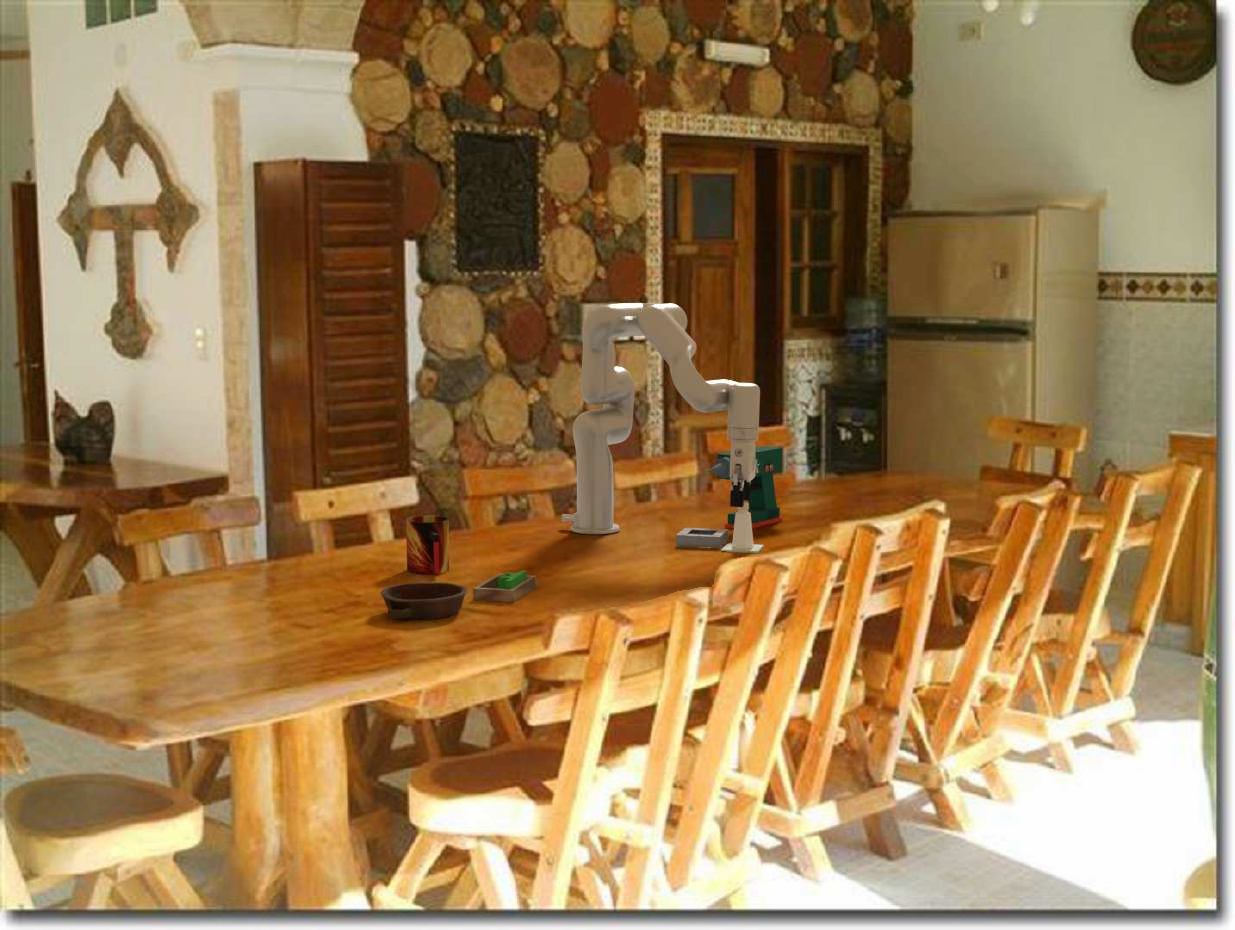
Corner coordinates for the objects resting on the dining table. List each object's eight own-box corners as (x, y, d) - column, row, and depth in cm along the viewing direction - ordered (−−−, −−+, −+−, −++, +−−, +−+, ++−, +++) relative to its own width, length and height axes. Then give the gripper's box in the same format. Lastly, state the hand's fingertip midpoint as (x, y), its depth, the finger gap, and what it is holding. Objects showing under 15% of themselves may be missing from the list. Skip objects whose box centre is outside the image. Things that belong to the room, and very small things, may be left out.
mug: (436, 579, 375) (435, 526, 374) (398, 570, 385) (397, 519, 383) (469, 573, 382) (468, 521, 380) (431, 565, 392) (430, 514, 390)
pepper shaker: (746, 549, 407) (746, 504, 406) (727, 547, 410) (727, 502, 409) (758, 546, 412) (758, 502, 410) (739, 544, 415) (739, 500, 413)
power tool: (718, 537, 427) (718, 459, 425) (695, 534, 432) (695, 457, 429) (784, 521, 453) (785, 447, 450) (762, 518, 457) (762, 445, 454)
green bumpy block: (510, 590, 363) (510, 569, 363) (526, 591, 363) (526, 570, 362) (493, 600, 353) (493, 579, 352) (510, 601, 352) (510, 580, 351)
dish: (356, 619, 336) (355, 595, 335) (422, 599, 354) (422, 576, 354) (426, 629, 327) (426, 604, 326) (490, 608, 346) (490, 584, 345)
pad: (721, 551, 408) (721, 549, 408) (727, 545, 416) (727, 543, 416) (757, 553, 405) (757, 551, 405) (763, 546, 414) (763, 544, 414)
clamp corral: (473, 600, 353) (472, 588, 352) (497, 585, 368) (497, 573, 368) (513, 602, 350) (513, 590, 350) (536, 587, 366) (536, 575, 366)
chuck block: (675, 547, 414) (675, 535, 414) (685, 539, 425) (685, 527, 424) (719, 548, 411) (719, 536, 411) (728, 541, 422) (728, 529, 421)
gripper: (752, 439, 398) (749, 510, 401) (764, 430, 415) (761, 498, 417) (720, 437, 400) (718, 508, 402) (734, 429, 416) (731, 496, 419)
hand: (740, 503), depth 410 cm, fingers open, 9 cm apart
